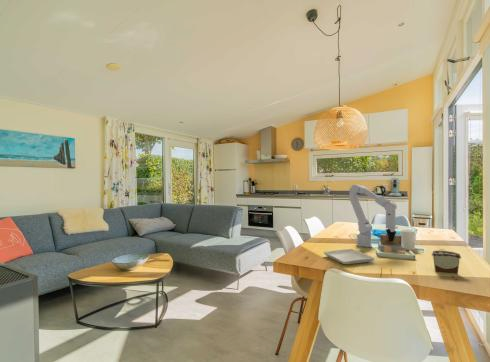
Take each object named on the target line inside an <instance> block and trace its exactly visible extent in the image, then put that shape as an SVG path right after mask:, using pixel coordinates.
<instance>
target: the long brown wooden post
mask: <svg viewBox="0 0 490 362" xmlns="http://www.w3.org/2000/svg"><path fill="white" fill-rule="evenodd" d="M379 237H380V240H379V242H380V243H381V244H390V245H401V234H395V236H394V240H393V242H392V241H389V237H388V234H387V233H385V234H384V233H383V234H382V233H380V236H379Z"/></svg>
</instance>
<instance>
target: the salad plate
mask: <svg viewBox="0 0 490 362" xmlns="http://www.w3.org/2000/svg"><path fill="white" fill-rule="evenodd" d="M323 255H325V256H327V257H328V258H330V259H331V260H332V259H333V260H334V261H336V262H339V263H341V264H342V265H356V264H364V263H369V262H373V261H374V260H375V257H374V256H371V255H368V254H366V253H363V252H361V251H359V250H357V249H356V250H355V249H353V248H347V249H346V248H345V249H338V250H337V249H336V250H329V251H328V250H327V251H323Z"/></svg>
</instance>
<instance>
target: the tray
mask: <svg viewBox="0 0 490 362" xmlns="http://www.w3.org/2000/svg"><path fill="white" fill-rule="evenodd" d="M375 254H376V256H377V257H378V258H388V259H389V258H391V259H401V260H413V261H415V260H416V255H415V253H414V252H413V250H409V251H408V252H405V254H397V253H396V252H391V253H384V252H383V251H380V250H379V248H378V247H376V248H375Z"/></svg>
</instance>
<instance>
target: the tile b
mask: <svg viewBox="0 0 490 362" xmlns="http://www.w3.org/2000/svg"><path fill="white" fill-rule="evenodd" d="M405 253H406V250H405V251H403V250H397V254H405Z"/></svg>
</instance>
